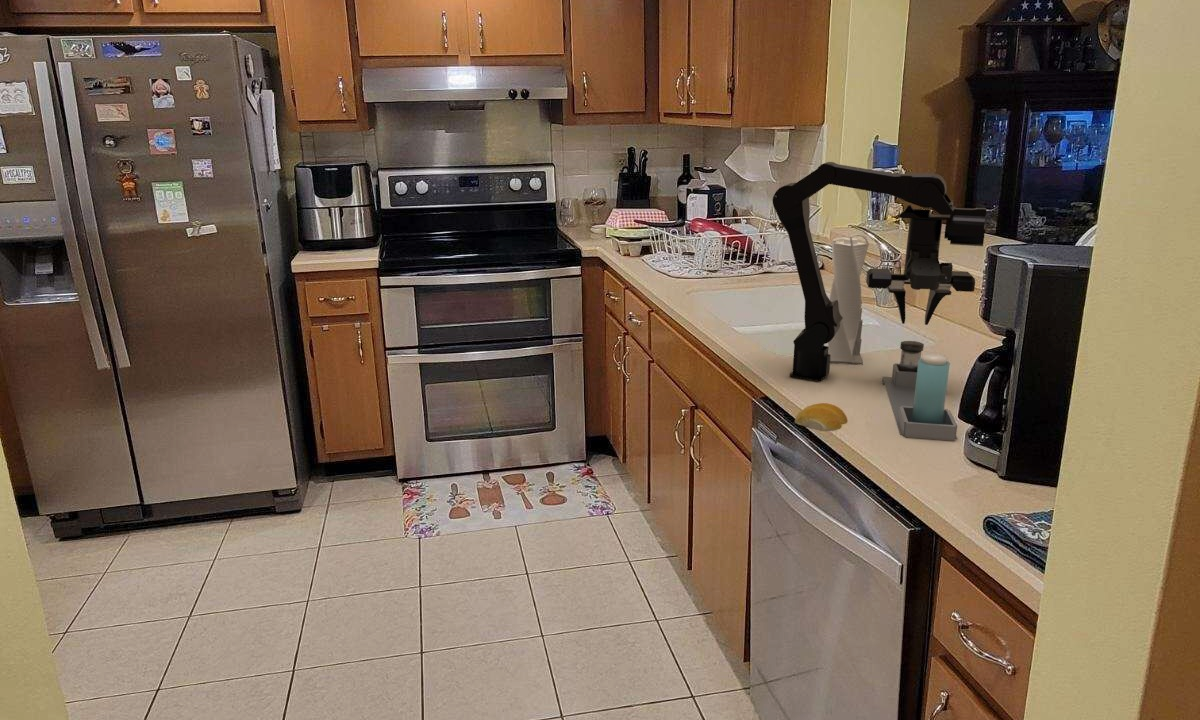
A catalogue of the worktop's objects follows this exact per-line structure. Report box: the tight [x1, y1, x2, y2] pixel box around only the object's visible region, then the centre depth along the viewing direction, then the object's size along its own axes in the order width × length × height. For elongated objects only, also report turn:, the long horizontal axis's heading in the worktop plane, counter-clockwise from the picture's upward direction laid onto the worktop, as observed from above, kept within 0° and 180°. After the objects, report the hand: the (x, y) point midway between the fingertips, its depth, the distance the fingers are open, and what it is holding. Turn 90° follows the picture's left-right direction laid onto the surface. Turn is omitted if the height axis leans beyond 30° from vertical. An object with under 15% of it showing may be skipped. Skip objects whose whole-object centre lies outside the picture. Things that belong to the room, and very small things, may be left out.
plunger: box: [899, 340, 925, 372], centre depth 162 cm, size 4×4×6 cm
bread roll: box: [794, 402, 848, 432], centre depth 145 cm, size 8×9×4 cm
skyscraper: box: [827, 233, 869, 366], centre depth 177 cm, size 8×8×28 cm
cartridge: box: [912, 352, 951, 424], centre depth 138 cm, size 5×5×13 cm
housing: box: [881, 362, 958, 442], centre depth 151 cm, size 32×9×4 cm, turn 167°
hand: (914, 323), depth 160 cm, fingers open, 4 cm apart
